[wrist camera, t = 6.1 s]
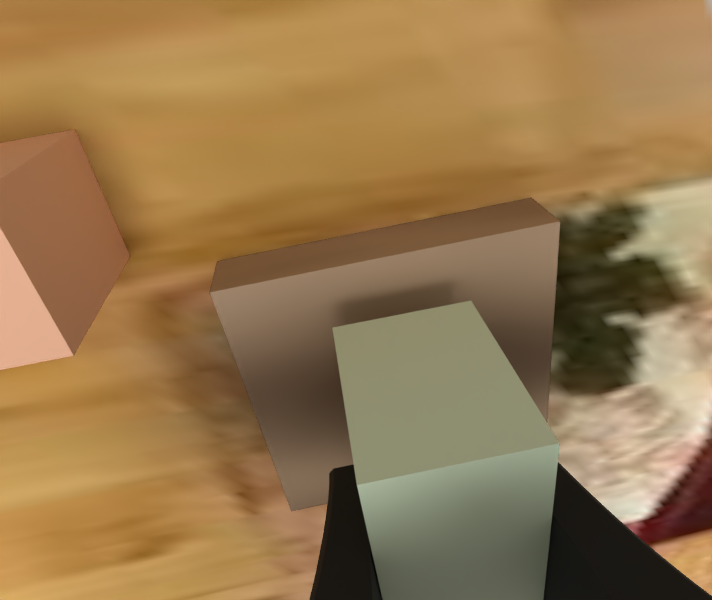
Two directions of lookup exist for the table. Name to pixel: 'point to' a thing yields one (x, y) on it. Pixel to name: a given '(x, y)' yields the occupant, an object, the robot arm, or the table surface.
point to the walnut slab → (373, 301)
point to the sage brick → (447, 457)
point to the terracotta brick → (52, 248)
